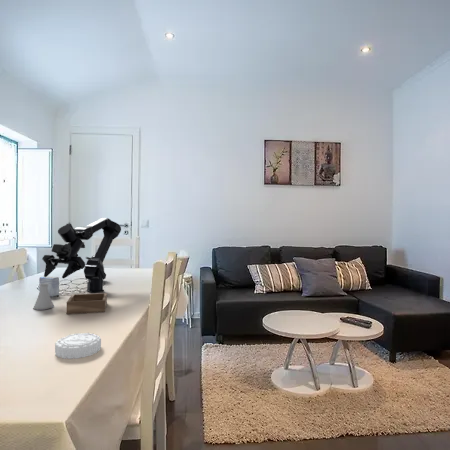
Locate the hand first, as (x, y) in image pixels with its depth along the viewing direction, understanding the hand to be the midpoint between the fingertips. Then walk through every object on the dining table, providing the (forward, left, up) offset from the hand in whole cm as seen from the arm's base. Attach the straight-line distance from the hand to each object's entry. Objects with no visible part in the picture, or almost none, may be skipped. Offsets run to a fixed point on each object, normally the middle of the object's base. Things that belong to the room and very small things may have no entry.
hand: (53, 277), depth 146 cm
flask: (+5, +3, -12) cm, 13 cm away
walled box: (-8, +16, -12) cm, 21 cm away
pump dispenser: (-37, -38, -12) cm, 55 cm away
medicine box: (-5, -19, -12) cm, 23 cm away
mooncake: (+14, +56, -12) cm, 59 cm away
